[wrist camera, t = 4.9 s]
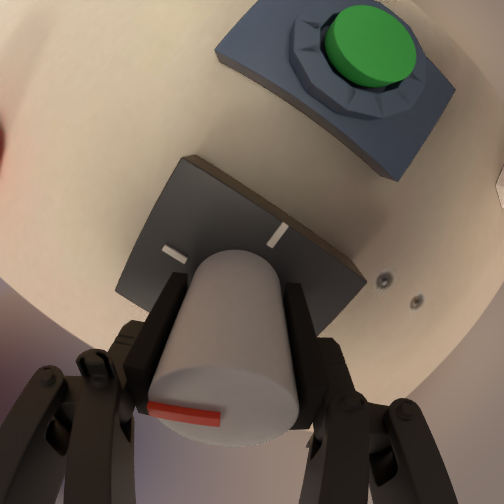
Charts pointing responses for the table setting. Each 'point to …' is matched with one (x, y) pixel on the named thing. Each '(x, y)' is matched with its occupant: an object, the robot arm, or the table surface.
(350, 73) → the button
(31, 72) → the table surface
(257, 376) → the dial
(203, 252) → the dial panel
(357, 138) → the button block
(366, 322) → the table surface
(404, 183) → the table surface
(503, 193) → the perfume bottle
